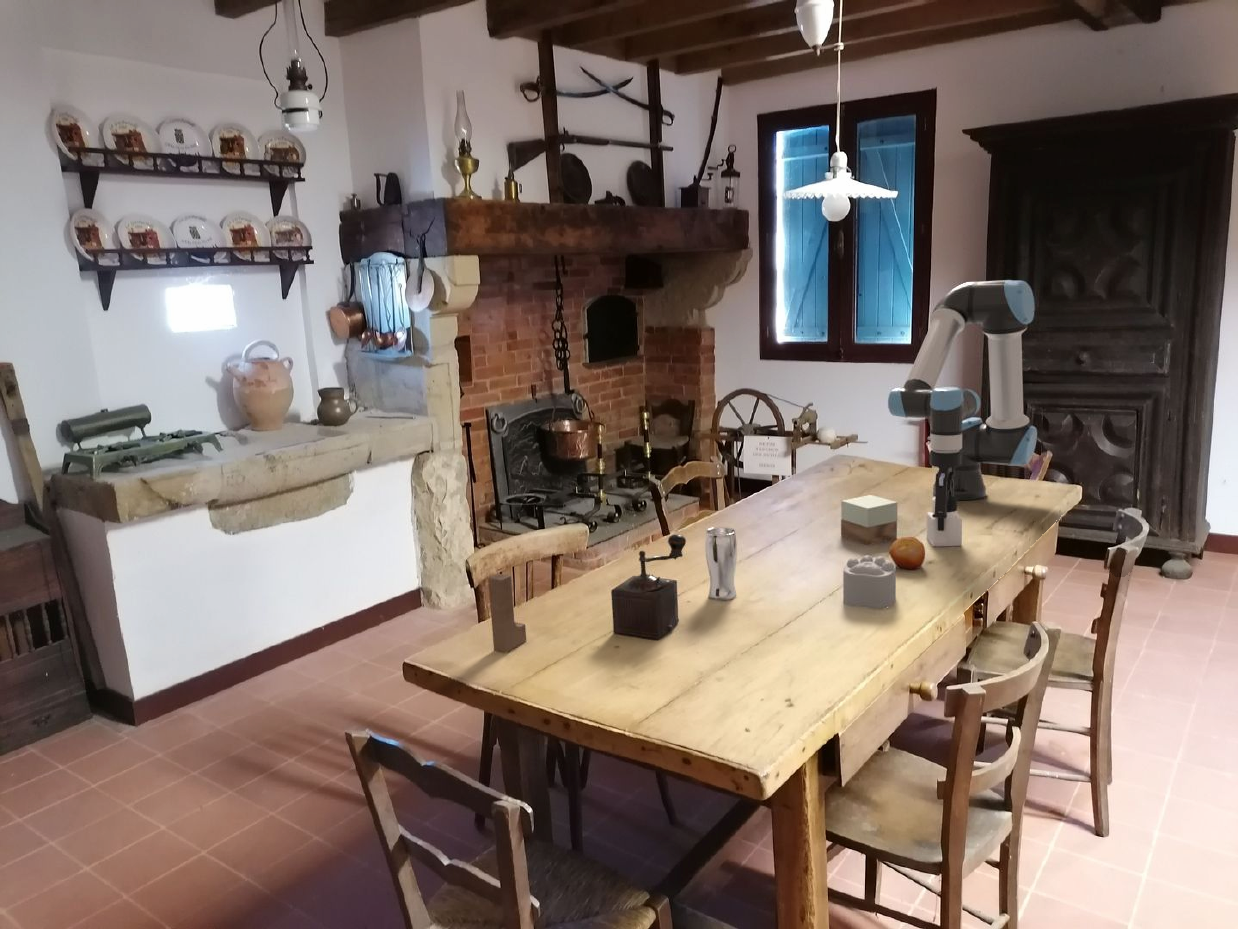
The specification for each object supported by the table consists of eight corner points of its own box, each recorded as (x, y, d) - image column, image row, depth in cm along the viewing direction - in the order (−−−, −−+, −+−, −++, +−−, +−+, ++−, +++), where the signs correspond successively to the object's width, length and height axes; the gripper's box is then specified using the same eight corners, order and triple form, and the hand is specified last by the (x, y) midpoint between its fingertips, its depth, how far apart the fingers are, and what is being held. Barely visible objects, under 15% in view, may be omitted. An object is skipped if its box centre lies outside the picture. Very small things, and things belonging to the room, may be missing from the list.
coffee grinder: (661, 641, 181) (657, 554, 177) (612, 634, 186) (607, 548, 182) (692, 614, 194) (689, 532, 190) (646, 608, 199) (642, 528, 196)
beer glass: (718, 603, 200) (716, 537, 196) (700, 594, 206) (698, 530, 203) (744, 597, 203) (743, 531, 200) (726, 588, 209) (725, 524, 206)
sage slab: (870, 512, 247) (870, 494, 246) (897, 520, 238) (897, 502, 237) (841, 519, 243) (841, 500, 242) (867, 527, 234) (867, 508, 233)
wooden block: (506, 653, 179) (500, 580, 176) (493, 650, 181) (487, 578, 178) (526, 641, 185) (521, 570, 182) (514, 638, 186) (508, 568, 183)
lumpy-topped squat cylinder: (839, 605, 195) (839, 566, 193) (852, 585, 206) (852, 548, 205) (889, 611, 190) (889, 571, 189) (900, 590, 202) (900, 553, 200)
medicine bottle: (954, 538, 237) (955, 492, 234) (961, 546, 230) (963, 499, 227) (926, 538, 237) (926, 493, 235) (932, 547, 230) (933, 500, 228)
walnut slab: (869, 530, 248) (869, 513, 247) (896, 539, 239) (896, 520, 238) (841, 537, 243) (841, 519, 242) (867, 546, 235) (867, 527, 234)
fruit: (928, 555, 220) (926, 532, 215) (924, 580, 215) (922, 557, 210) (893, 552, 223) (890, 529, 218) (888, 577, 218) (886, 554, 213)
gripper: (936, 441, 240) (935, 524, 244) (922, 458, 221) (921, 547, 226) (967, 442, 236) (964, 526, 241) (955, 459, 217) (953, 550, 222)
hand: (943, 537), depth 233 cm, fingers closed on medicine bottle, 9 cm apart
